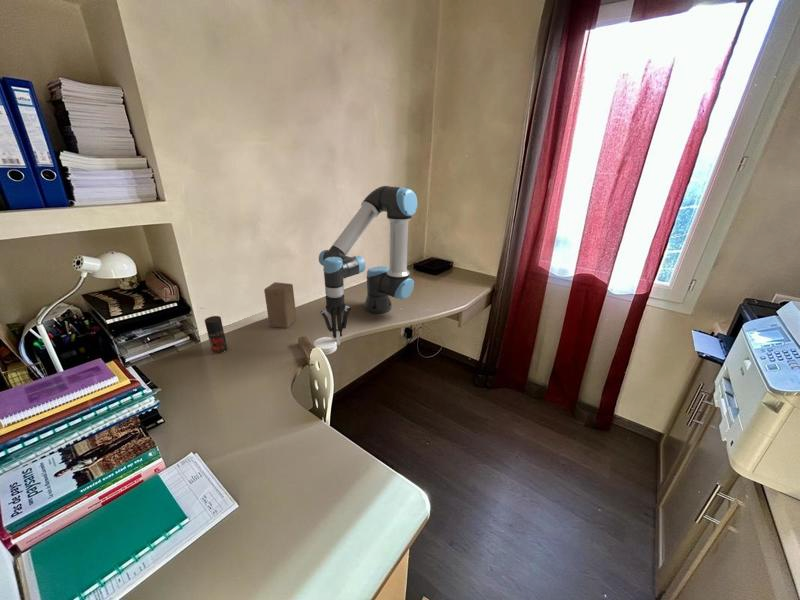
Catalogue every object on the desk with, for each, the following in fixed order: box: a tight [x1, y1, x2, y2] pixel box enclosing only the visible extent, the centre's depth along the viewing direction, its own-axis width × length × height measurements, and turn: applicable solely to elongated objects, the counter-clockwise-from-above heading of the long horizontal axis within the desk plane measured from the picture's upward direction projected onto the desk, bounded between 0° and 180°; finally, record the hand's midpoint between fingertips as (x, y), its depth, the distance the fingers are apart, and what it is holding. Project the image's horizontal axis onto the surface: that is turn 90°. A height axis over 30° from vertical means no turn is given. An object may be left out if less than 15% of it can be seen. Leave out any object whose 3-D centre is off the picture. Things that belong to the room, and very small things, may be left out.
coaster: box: [312, 336, 338, 356], centre depth 147 cm, size 10×10×4 cm
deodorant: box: [204, 315, 228, 354], centre depth 141 cm, size 6×6×15 cm
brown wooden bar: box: [297, 335, 313, 366], centre depth 143 cm, size 4×18×4 cm, turn 28°
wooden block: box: [263, 282, 297, 329], centre depth 163 cm, size 10×10×20 cm
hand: (337, 343), depth 149 cm, fingers closed
